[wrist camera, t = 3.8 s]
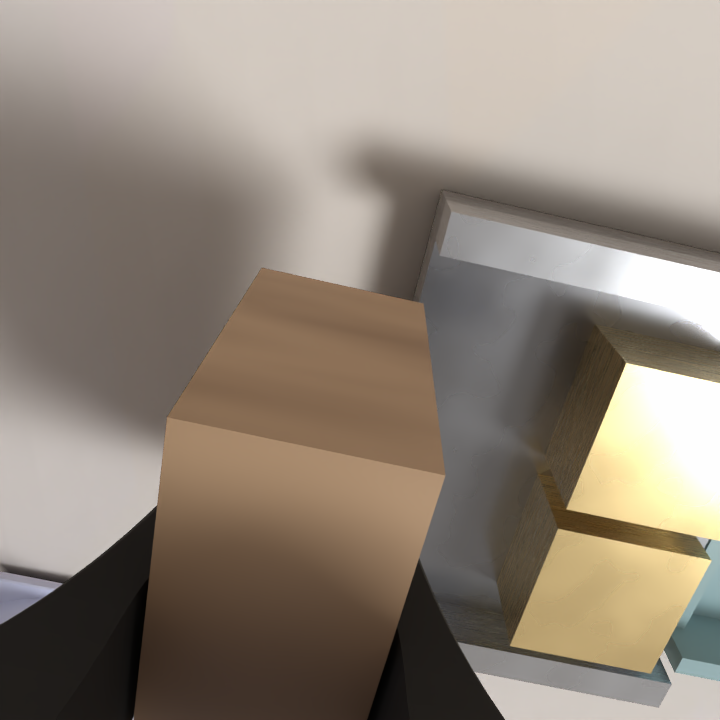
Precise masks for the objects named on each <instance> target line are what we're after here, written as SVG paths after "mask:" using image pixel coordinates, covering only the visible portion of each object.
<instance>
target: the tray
mask: <svg viewBox="0 0 720 720" xmlns="http://www.w3.org/2000/svg"><path fill="white" fill-rule="evenodd" d="M704 549H705V551H706V552H707V554H708V556H709V557H710V559H711V560H712V561H711V563H710V565H709V566H708V568H707V570H706V572H705V574H704V576H703V578H702V579H701V581H700V583H699V585H698V587H697V589H696V591H695V592H694V594H693V596H692V598H691V600H690V602H689V604H688V605H687V607H686V609H685V611H684V613H683V615H682V617H681V618H680V620H679V622H678V624H677V626H676V628H675V630H674V631H673V633H672V635H671V637H670V639H669V641H668V643H667V644H666V646H665V648H664V651H665V653H666V655H667V657H668V659H669V661H670V663H671V665H672V668H673V670H674V672H676V673H681V674H686V675H691V676H696V677H701V678H706V679H711V680H716V681H720V541H717V540H712V539H709V540H708V542H707V544H706V546H705V548H704Z"/></svg>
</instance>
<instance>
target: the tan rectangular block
mask: <svg viewBox="0 0 720 720" xmlns="http://www.w3.org/2000/svg"><path fill="white" fill-rule="evenodd" d="M444 479H445V468H444V460H443V452H442V444H441V436H440V428H439V420H438V413H437V405H436V397H435V389H434V381H433V373H432V365H431V357H430V350H429V342H428V334H427V326H426V318H425V310H424V303H419V302H415V301H410V300H406V299H401V298H396V297H392V296H387V295H383V294H378V293H374V292H369V291H365V290H360V289H356V288H351V287H347V286H342V285H338V284H333V283H329V282H324V281H320V280H315V279H311V278H306V277H301V276H297V275H292V274H288V273H283V272H279V271H274V270H270V269H265V268H261V270H260V271H259V273H258V275H257V276H256V278H255V279H254V281H253V282H252V284H251V286H250V287H249V289H248V290H247V292H246V293H245V295H244V297H243V298H242V300H241V301H240V303H239V305H238V306H237V308H236V309H235V311H234V312H233V314H232V316H231V317H230V319H229V320H228V322H227V323H226V325H225V327H224V328H223V330H222V331H221V333H220V334H219V336H218V338H217V339H216V341H215V342H214V344H213V346H212V347H211V349H210V350H209V352H208V353H207V355H206V357H205V358H204V360H203V361H202V363H201V364H200V366H199V368H198V369H197V371H196V372H195V374H194V375H193V377H192V379H191V380H190V382H189V383H188V385H187V387H186V388H185V390H184V391H183V393H182V394H181V396H180V398H179V399H178V401H177V402H176V404H175V405H174V407H173V409H172V410H171V412H170V413H169V415H168V416H167V422H166V431H165V440H164V449H163V458H162V467H161V476H160V485H159V494H158V503H157V512H156V521H155V530H154V539H153V548H152V557H151V566H150V575H149V584H148V593H147V602H146V611H145V620H144V629H143V638H142V647H141V656H140V665H139V674H138V683H137V692H136V701H135V710H134V719H133V720H367V719H368V716H369V712H370V709H371V706H372V703H373V700H374V697H375V694H376V691H377V687H378V684H379V681H380V678H381V675H382V672H383V669H384V666H385V663H386V659H387V656H388V653H389V650H390V647H391V644H392V641H393V638H394V634H395V631H396V628H397V625H398V622H399V619H400V616H401V613H402V610H403V606H404V603H405V600H406V597H407V594H408V591H409V588H410V585H411V581H412V578H413V575H414V572H415V569H416V566H417V563H418V560H419V557H420V553H421V550H422V547H423V544H424V541H425V538H426V535H427V532H428V528H429V525H430V522H431V519H432V516H433V513H434V510H435V507H436V504H437V500H438V497H439V494H440V491H441V488H442V485H443V482H444Z"/></svg>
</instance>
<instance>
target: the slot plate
mask: <svg viewBox="0 0 720 720" xmlns="http://www.w3.org/2000/svg"><path fill="white" fill-rule="evenodd" d="M413 301H415V302H419V303H424V310H425V318H426V326H427V334H428V342H429V350H430V357H431V365H432V373H433V381H434V389H435V397H436V405H437V413H438V420H439V428H440V436H441V444H442V452H443V460H444V468H445V479H444V482H443V485H442V488H441V491H440V494H439V497H438V500H437V504H436V507H435V510H434V513H433V516H432V519H431V522H430V525H429V528H428V532H427V535H426V538H425V541H424V544H423V547H422V550H421V553H420V557H419V559H420V561H421V564H422V567H423V569H424V572H425V574H426V576H427V579H428V581H429V584H430V586H431V588H432V591H433V593H434V595H435V597H436V600H437V602H438V604H439V606H440V608H441V610H442V612H443V614H444V616H445V619H446V621H447V623H448V625H449V627H450V629H451V631H452V633H453V635H454V637H455V639H456V640H457V642H458V644H459V646H460V648H461V650H462V652H463V653H464V655H465V657H466V659H467V660H468V662H469V664H470V666H471V667H472V669H473V671H474V672H478V673H483V674H488V675H494V676H499V677H504V678H509V679H514V680H519V681H524V682H530V683H535V684H540V685H545V686H550V687H555V688H560V689H566V690H571V691H576V692H581V693H586V694H591V695H596V696H602V697H607V698H612V699H617V700H622V701H627V702H632V703H638V704H643V705H648V706H653V707H658V708H659V706H660V704H661V702H662V701H663V699H664V697H665V695H666V693H667V692H668V690H669V688H670V686H671V682H670V680H669V677H668V675H667V673H666V671H665V669H664V667H663V664H662V662H661V660H660V658H659V659H658V661H657V663H656V665H655V667H654V669H653V670H652V672H651V674H650V673H645V672H640V671H634V670H629V669H624V668H619V667H614V666H609V665H604V664H599V663H594V662H589V661H584V660H579V659H573V658H568V657H563V656H558V655H553V654H548V653H543V652H538V651H533V650H528V649H523V648H518V647H512V646H510V644H509V639H508V635H507V630H506V625H505V620H504V616H503V611H502V606H501V601H500V596H499V592H498V587H497V579H498V576H499V574H500V571H501V568H502V566H503V563H504V561H505V558H506V555H507V553H508V550H509V547H510V545H511V542H512V540H513V537H514V534H515V532H516V529H517V527H518V524H519V521H520V519H521V516H522V513H523V511H524V508H525V506H526V503H527V500H528V498H529V495H530V492H531V490H532V487H533V485H534V482H535V479H536V477H537V474H538V473H539V474H543V475H548V476H553V475H552V473H551V470H550V468H549V465H548V463H547V460H546V458H545V453H546V451H547V448H548V445H549V443H550V440H551V437H552V435H553V432H554V430H555V427H556V424H557V422H558V419H559V417H560V414H561V411H562V409H563V406H564V403H565V401H566V398H567V396H568V393H569V390H570V388H571V385H572V383H573V380H574V377H575V375H576V372H577V369H578V367H579V364H580V362H581V359H582V356H583V354H584V351H585V348H586V346H587V343H588V341H589V338H590V335H591V333H592V330H593V328H594V325H595V324H597V325H601V326H606V327H610V328H615V329H619V330H624V331H628V332H633V333H637V334H642V335H646V336H651V337H655V338H660V339H664V340H669V341H673V342H678V343H682V344H687V345H691V346H696V347H700V348H705V349H709V350H714V351H718V352H720V253H716V252H712V251H708V250H703V249H699V248H695V247H690V246H686V245H682V244H677V243H673V242H668V241H664V240H660V239H655V238H651V237H647V236H642V235H638V234H634V233H629V232H625V231H620V230H616V229H612V228H607V227H603V226H599V225H594V224H590V223H586V222H581V221H577V220H572V219H568V218H564V217H559V216H555V215H551V214H546V213H542V212H538V211H533V210H529V209H524V208H520V207H516V206H511V205H507V204H503V203H498V202H494V201H490V200H485V199H481V198H476V197H472V196H468V195H463V194H459V193H455V192H450V191H446V190H442V191H441V195H440V198H439V202H438V206H437V210H436V214H435V218H434V221H433V225H432V229H431V233H430V237H429V241H428V244H427V248H426V252H425V256H424V260H423V263H422V267H421V271H420V275H419V279H418V283H417V286H416V290H415V294H414V298H413ZM696 537H697V539H698V540H699V542H700V543H701V545H702V546H703V548H705V546H706V544H707V542H708V540H709V539H707V538H702V537H698V536H696Z"/></svg>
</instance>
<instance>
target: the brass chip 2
mask: <svg viewBox="0 0 720 720" xmlns="http://www.w3.org/2000/svg"><path fill="white" fill-rule="evenodd" d="M711 561H712V560H711V559H710V557H709V556H708V554H707V552H706V551H705V549H704V548H703V546H702V545H701V543H700V542H699V540H698V539H697V537H696V536H693V535H688V534H683V533H678V532H673V531H669V530H664V529H659V528H654V527H649V526H645V525H640V524H635V523H630V522H625V521H621V520H616V519H611V518H606V517H601V516H596V515H592V514H587V513H582V512H577V511H572V510H568V509H566V507H565V505H564V502H563V500H562V497H561V495H560V492H559V490H558V487H557V485H556V483H555V480H554V478H553V476H548V475H543V474H539V473H538V474H537V477H536V479H535V482H534V485H533V487H532V490H531V492H530V495H529V498H528V500H527V503H526V506H525V508H524V511H523V513H522V516H521V519H520V521H519V524H518V527H517V529H516V532H515V534H514V537H513V540H512V542H511V545H510V547H509V550H508V553H507V555H506V558H505V561H504V563H503V566H502V568H501V571H500V574H499V576H498V579H497V587H498V592H499V596H500V601H501V606H502V611H503V616H504V620H505V625H506V630H507V635H508V639H509V644H510V646H512V647H518V648H523V649H528V650H533V651H538V652H543V653H548V654H553V655H558V656H563V657H568V658H573V659H579V660H584V661H589V662H594V663H599V664H604V665H609V666H614V667H619V668H624V669H629V670H634V671H640V672H645V673H650V674H651V672H652V670H653V669H654V667H655V665H656V663H657V661H658V659H659V657H660V656H661V654H662V652H663V650H664V648H665V646H666V644H667V643H668V641H669V639H670V637H671V635H672V633H673V631H674V630H675V628H676V626H677V624H678V622H679V620H680V618H681V617H682V615H683V613H684V611H685V609H686V607H687V605H688V604H689V602H690V600H691V598H692V596H693V594H694V592H695V591H696V589H697V587H698V585H699V583H700V581H701V579H702V578H703V576H704V574H705V572H706V570H707V568H708V566H709V565H710V563H711Z"/></svg>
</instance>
